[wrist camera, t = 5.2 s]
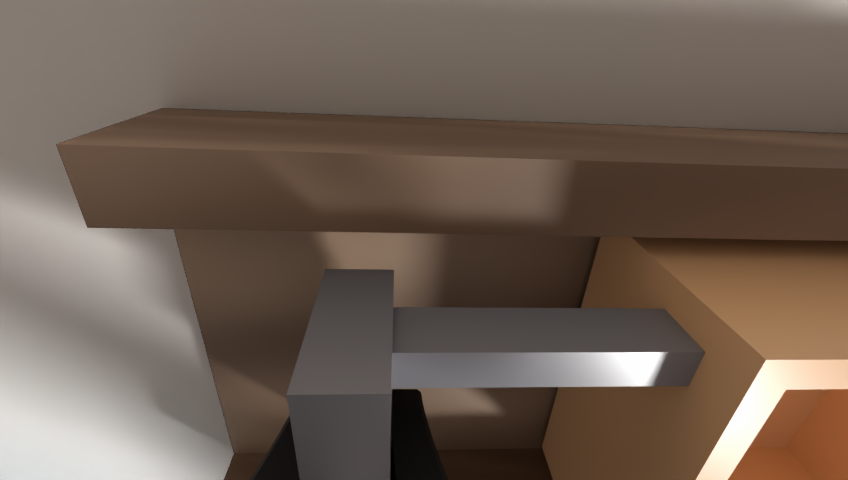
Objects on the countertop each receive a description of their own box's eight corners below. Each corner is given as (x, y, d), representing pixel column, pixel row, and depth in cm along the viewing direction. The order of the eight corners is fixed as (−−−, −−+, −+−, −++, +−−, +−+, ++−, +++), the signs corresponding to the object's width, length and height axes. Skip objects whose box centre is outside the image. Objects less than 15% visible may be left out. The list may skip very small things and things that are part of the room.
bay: (1040, 443, 18) (1367, 656, 12) (248, 459, 16) (151, 733, 9) (1377, 153, 12) (2397, 284, 6) (161, 108, 9) (-253, 249, 3)
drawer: (779, 442, 15) (943, 621, 10) (351, 450, 14) (327, 654, 9) (933, 221, 11) (1316, 361, 6) (336, 209, 10) (282, 366, 5)
